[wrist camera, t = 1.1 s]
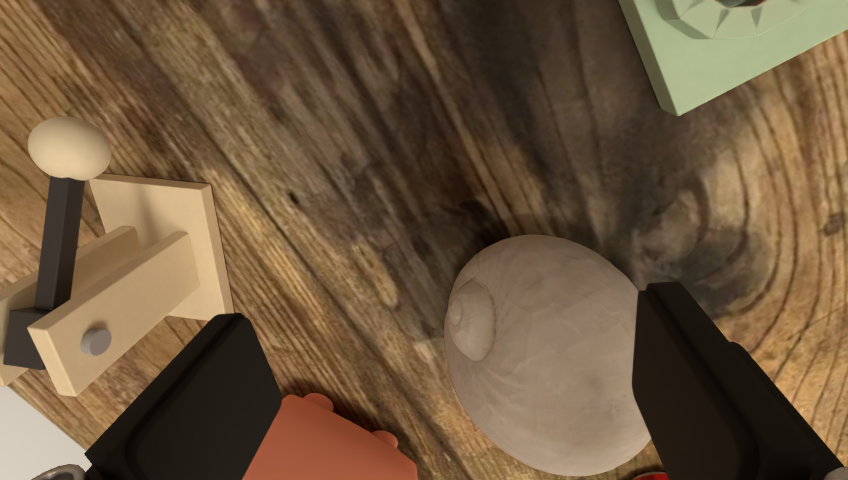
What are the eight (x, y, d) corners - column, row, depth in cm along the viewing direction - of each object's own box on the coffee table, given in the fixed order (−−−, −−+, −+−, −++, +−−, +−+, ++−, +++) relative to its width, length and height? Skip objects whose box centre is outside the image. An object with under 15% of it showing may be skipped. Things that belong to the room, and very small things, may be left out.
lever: (75, 125, 24) (12, 104, 20) (130, 130, 24) (75, 110, 20) (47, 349, 24) (-21, 366, 20) (102, 357, 23) (42, 375, 20)
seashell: (577, 202, 33) (494, 186, 20) (740, 339, 27) (760, 432, 15) (466, 325, 39) (351, 370, 27) (578, 458, 33) (497, 594, 21)
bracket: (101, 172, 28) (-117, 252, 18) (210, 183, 28) (49, 272, 17) (141, 302, 33) (-12, 423, 23) (235, 314, 33) (120, 444, 22)
